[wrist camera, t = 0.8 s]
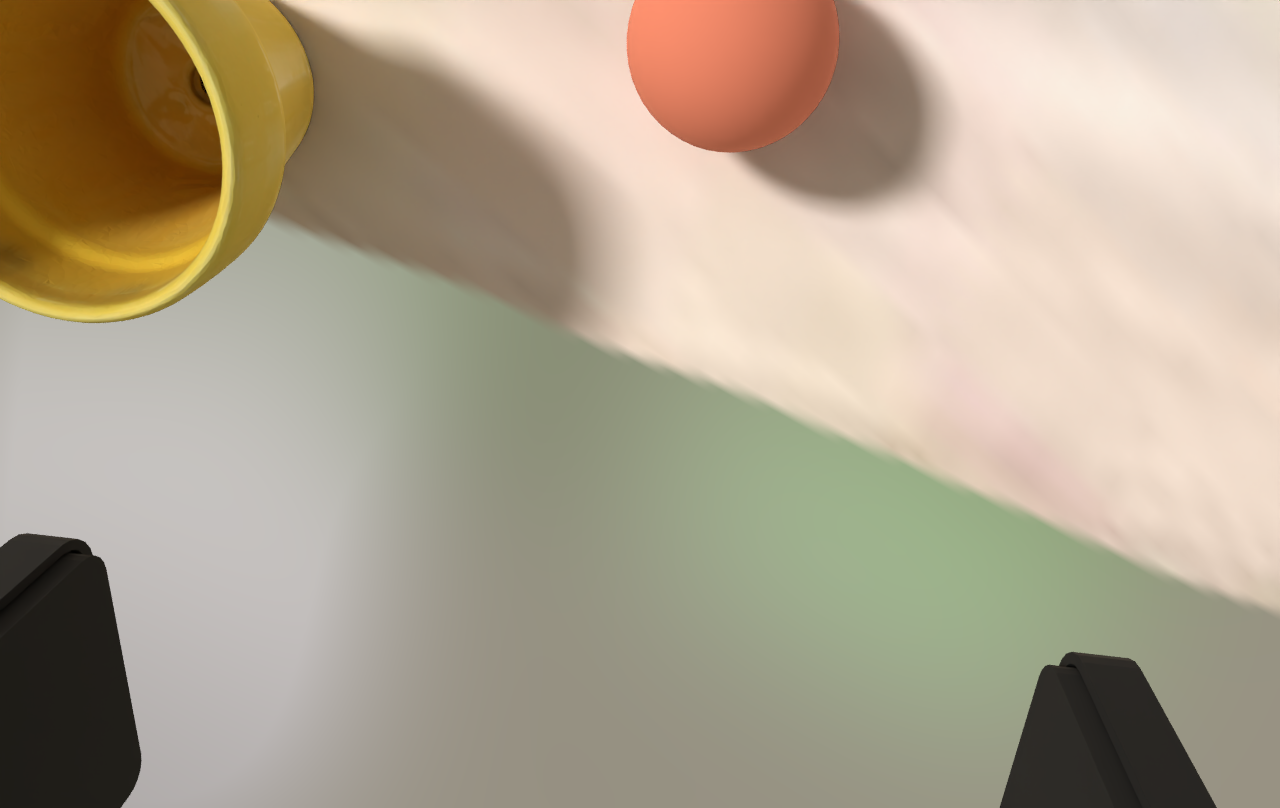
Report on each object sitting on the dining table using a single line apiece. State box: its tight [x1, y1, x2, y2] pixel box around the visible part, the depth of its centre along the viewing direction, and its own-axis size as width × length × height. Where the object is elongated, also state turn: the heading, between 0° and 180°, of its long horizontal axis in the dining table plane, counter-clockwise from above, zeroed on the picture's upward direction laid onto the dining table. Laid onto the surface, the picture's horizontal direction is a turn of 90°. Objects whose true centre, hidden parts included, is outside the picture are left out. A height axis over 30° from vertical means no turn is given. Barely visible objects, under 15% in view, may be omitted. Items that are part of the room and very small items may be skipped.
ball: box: [627, 0, 839, 152], centre depth 28 cm, size 6×6×6 cm
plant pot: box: [0, 0, 314, 323], centre depth 29 cm, size 10×10×10 cm
